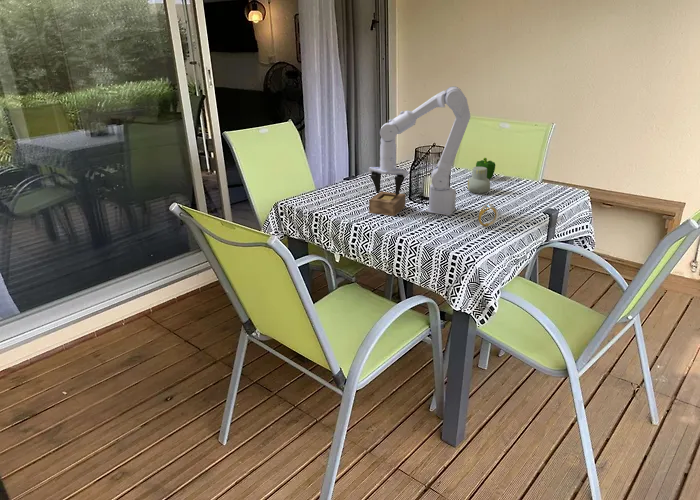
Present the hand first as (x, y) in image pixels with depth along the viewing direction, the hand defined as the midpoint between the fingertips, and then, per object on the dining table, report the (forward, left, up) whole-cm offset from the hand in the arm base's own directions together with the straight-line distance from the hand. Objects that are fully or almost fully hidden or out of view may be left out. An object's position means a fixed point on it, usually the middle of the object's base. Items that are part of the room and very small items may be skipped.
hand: (387, 193), depth 191 cm
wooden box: (0, 0, -6) cm, 6 cm away
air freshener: (-26, -36, -7) cm, 45 cm away
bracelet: (-38, +4, -7) cm, 39 cm away
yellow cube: (0, 0, -6) cm, 6 cm away
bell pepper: (-24, -57, -7) cm, 62 cm away
